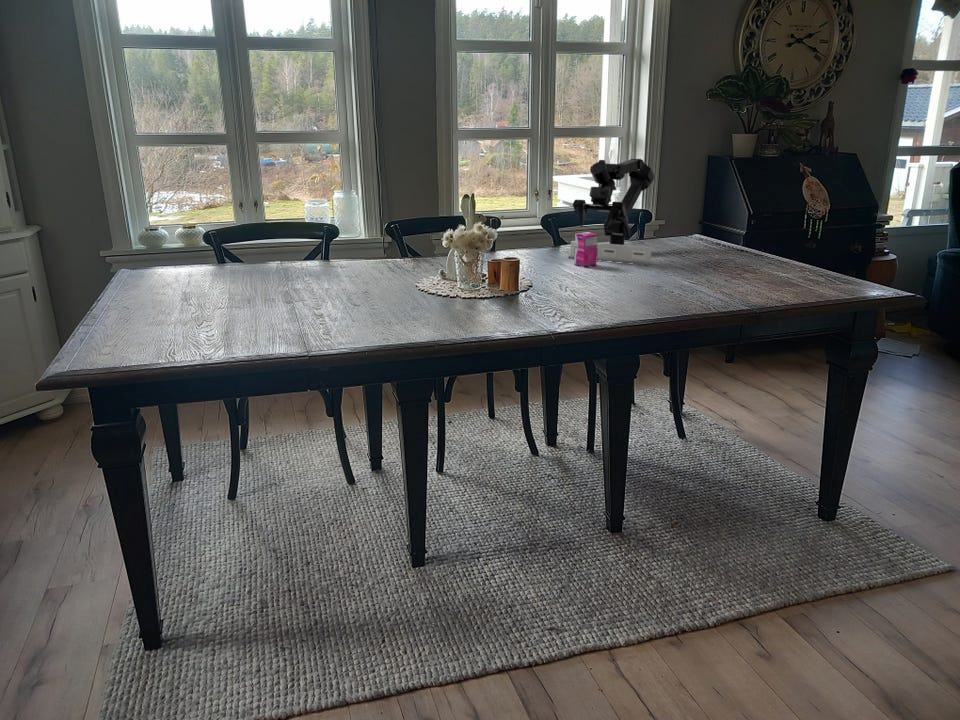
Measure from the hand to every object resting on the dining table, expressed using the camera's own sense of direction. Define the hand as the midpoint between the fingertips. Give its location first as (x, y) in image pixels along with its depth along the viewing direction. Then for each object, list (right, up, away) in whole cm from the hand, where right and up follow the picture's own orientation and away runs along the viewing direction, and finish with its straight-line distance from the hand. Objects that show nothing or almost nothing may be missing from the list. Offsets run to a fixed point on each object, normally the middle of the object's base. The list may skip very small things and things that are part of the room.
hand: (593, 227), depth 258 cm
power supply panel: (+7, -11, +7) cm, 15 cm away
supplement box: (-3, -14, -1) cm, 15 cm away
